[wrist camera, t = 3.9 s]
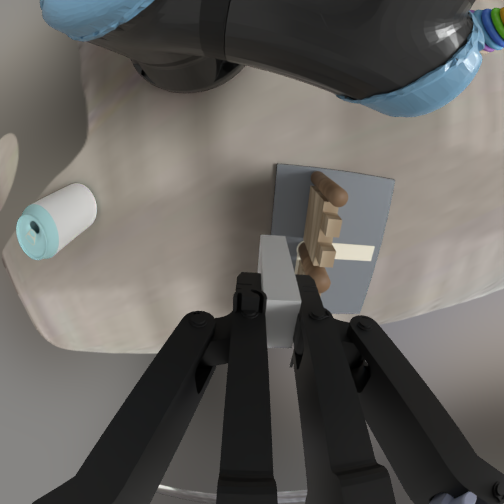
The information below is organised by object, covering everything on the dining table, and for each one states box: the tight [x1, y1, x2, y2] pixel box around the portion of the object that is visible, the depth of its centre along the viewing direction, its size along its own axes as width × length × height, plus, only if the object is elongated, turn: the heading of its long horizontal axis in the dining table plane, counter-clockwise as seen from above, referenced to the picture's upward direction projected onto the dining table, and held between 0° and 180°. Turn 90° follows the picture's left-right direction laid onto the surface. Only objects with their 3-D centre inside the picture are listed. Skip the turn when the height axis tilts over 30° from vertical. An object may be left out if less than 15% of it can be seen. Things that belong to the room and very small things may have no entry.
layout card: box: [271, 164, 395, 314], centre depth 36 cm, size 16×22×1 cm
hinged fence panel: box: [303, 171, 348, 268], centre depth 29 cm, size 2×9×9 cm, turn 176°
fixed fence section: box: [297, 242, 331, 296], centre depth 34 cm, size 2×12×10 cm, turn 177°
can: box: [16, 183, 97, 260], centre depth 28 cm, size 7×7×12 cm
